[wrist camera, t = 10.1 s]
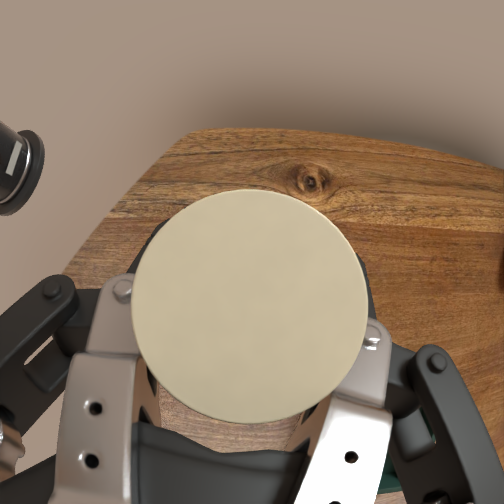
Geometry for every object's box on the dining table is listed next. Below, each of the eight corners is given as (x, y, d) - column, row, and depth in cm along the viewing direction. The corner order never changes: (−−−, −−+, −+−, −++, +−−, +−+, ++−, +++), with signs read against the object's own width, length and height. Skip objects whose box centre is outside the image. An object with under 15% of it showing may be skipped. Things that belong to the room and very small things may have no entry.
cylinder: (204, 327, 14) (117, 394, 4) (219, 248, 15) (157, 172, 5) (283, 341, 14) (339, 435, 4) (298, 263, 15) (383, 214, 5)
